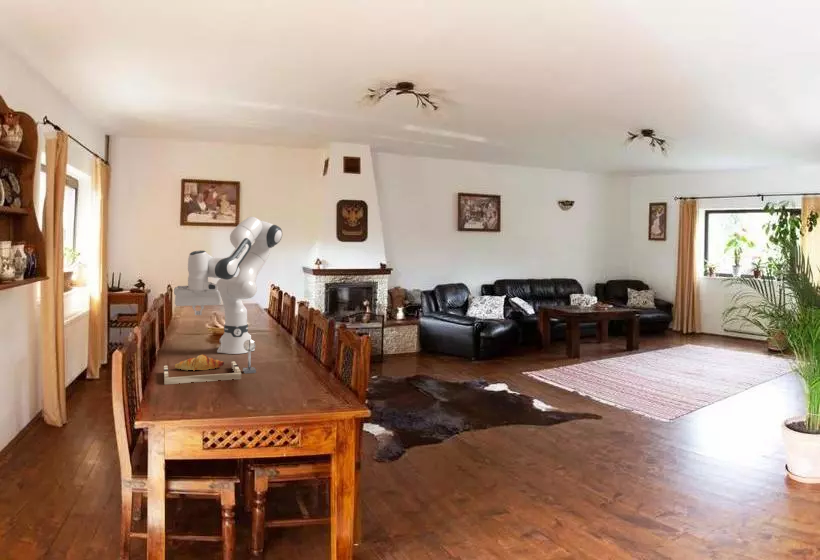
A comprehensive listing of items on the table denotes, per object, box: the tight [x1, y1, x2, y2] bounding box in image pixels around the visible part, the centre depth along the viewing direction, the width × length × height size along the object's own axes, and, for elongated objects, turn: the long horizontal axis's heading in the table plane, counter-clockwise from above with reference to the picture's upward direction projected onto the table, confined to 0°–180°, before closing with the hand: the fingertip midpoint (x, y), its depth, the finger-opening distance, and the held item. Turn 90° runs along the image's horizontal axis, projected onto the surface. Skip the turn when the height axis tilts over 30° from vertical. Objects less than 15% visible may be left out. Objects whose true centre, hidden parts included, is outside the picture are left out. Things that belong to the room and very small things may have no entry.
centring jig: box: [163, 361, 242, 385], centre depth 249 cm, size 22×30×4 cm
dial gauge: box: [242, 339, 257, 374], centre depth 258 cm, size 5×5×14 cm
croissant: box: [174, 354, 225, 372], centre depth 262 cm, size 21×10×8 cm
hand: (198, 315), depth 271 cm, fingers closed
